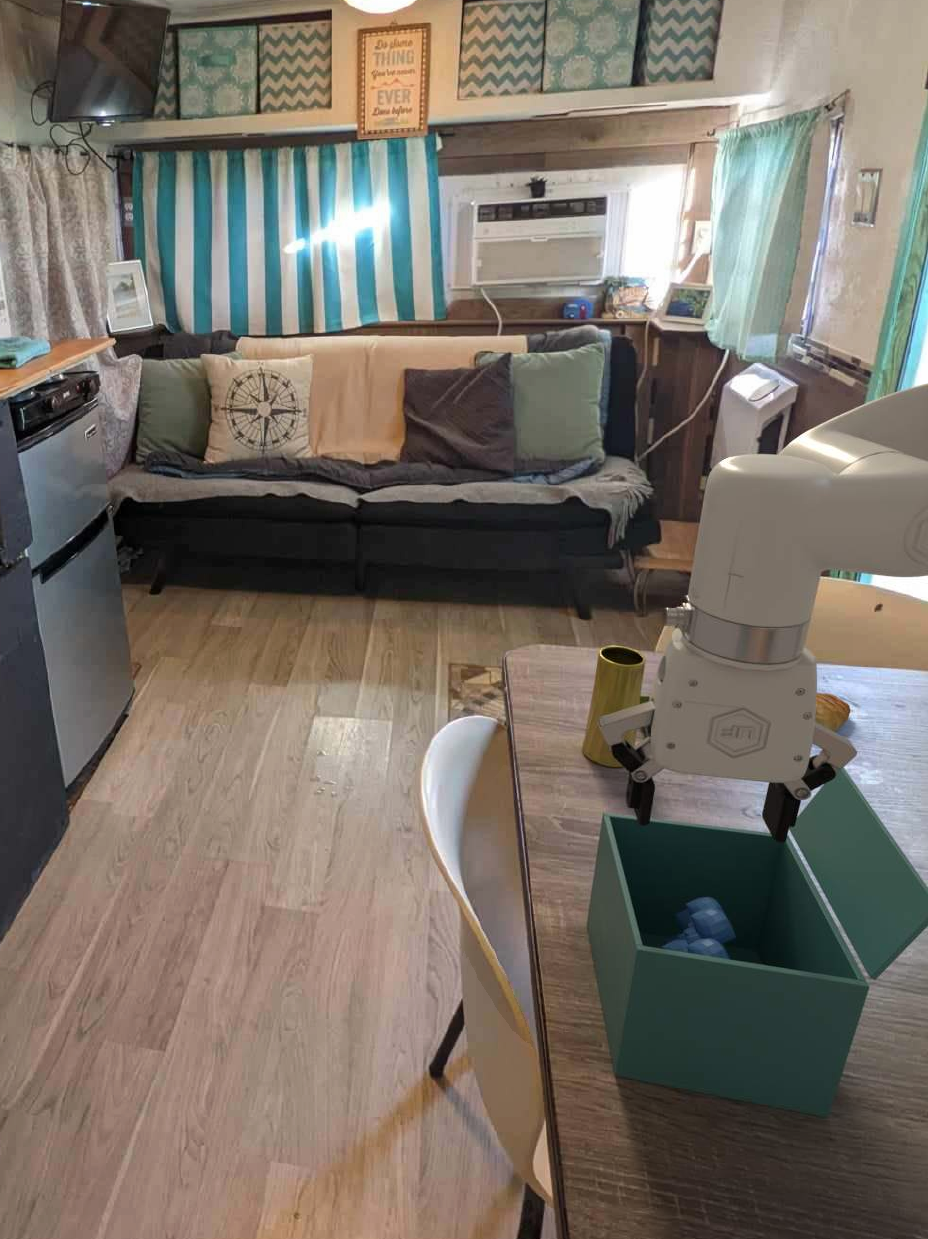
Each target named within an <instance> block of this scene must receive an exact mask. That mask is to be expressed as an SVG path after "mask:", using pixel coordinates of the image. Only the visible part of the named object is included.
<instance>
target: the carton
mask: <svg viewBox="0 0 928 1239" xmlns="http://www.w3.org/2000/svg"><path fill="white" fill-rule="evenodd" d="M598 837H599V838H598V843H597V844H598V845H597V852H596V857H595V865H594V870H593V871H594V872H593V878H592V886H591V891H590V898H589V906H588V912H587V919H586V929H587V934H588V940H589V946H590V950H591V956H592V962H593V967H594V972H595V978H596V983H597V988H598V994H599V998H600V1005H601V1009H602V1014H603V1015H602V1016H603V1021H604V1026H605V1032H606V1036H607V1042H608V1047H609V1053H610V1058H611V1063H612V1069H613V1073H614V1074H613V1075H614V1076H615V1077H618V1078H623V1079H629V1080H634V1081H638V1082H644V1083H647V1084H654V1085H659V1086H664V1087H669V1088H674V1089H680V1090H684V1091H690V1092H695V1093H698V1094H699V1093H700V1094H703V1095H710V1096H715V1097H720V1098H724V1099H730V1100H735V1101H741V1102H744V1103H745V1102H746V1103H750V1104H756V1105H761V1106H765V1107H770V1108H775V1109H781V1110H786V1111H791V1112H797V1113H802V1114H805V1115H806V1114H807V1115H810V1116H815V1117H822V1118H826V1119H828V1118H829V1117H830V1113H831V1111H832V1107H833V1104H834V1101H835V1098H836V1095H837V1092H838V1089H839V1086H840V1082H841V1079H842V1076H843V1073H844V1069H845V1067H846V1063H847V1061H848V1057H849V1054H850V1050H851V1047H852V1045H853V1041H854V1037H855V1035H856V1031H857V1029H858V1026H859V1022H860V1018H861V1016H862V1013H863V1009H864V1007H865V1004H866V1003H865V1002H866V1000H867V996H868V993H869V990H870V985H869V983H868V981H867V979H866V977H865V975H864V973H863V972H862V969H861V968H860V966H859V965H858V962H857V961H856V959H855V957H854V955H853V953H852V951H851V949H850V948H849V946H848V944H847V942H846V940H845V938H844V936H843V935H842V932H841V930H840V929H839V927H838V925H837V924H836V921H835V919H834V918H833V916H832V914H831V912H830V909H829V908H828V907H827V904H826V902H825V901H824V899H823V898H822V895H821V893H820V891H819V889H818V888H817V886H816V884H815V881H813V878H812V877H811V875H810V873H809V871H808V869H807V867H806V866H805V864H804V862H803V860H802V858H801V856H800V854H799V852H798V851H797V849H796V847H795V845H794V843H793V841H792V839H791V838H790V836H789V835H787V839H786V842H785V843H784V842H777V841H776V840H775V839H773V837H772V835H771V833H770V832H768V831H767V832H766V831H760V830H758V831H757V830H751V829H743V828H742V829H741V828H735V827H727V826H726V827H725V826H718V825H710V824H702V823H693V822H684V821H679V820H678V821H677V820H668V819H660V818H653V817H650V822H649V824H647V825H646V826H644V825H639V824H638V821H637V818H636V815H628V814H621V813H612V812H602V818H601V823H600V830H599V836H598ZM702 897H711V898H713V899H715V900H716V901H717V902H718V903H719V904H720V906H721V907H722V909H723V910H724V912H725V915H726V917H727V918H728V920H729V921H730V923H731V926H732V928H733V930H734V933H735V936H736V938H734V939H732V940H730V941H728V942H726V943H723V945H724V946H725V949H726V950H727V953H728V955H729V958H730V960H728V959H722V958H716V957H710V956H703V955H697V954H691V953H684V952H678V951H672V950H666V949H663V948H662V946H664V945H665V944H664V942H663V940H664V939H666V938H668V937H670V936H673V935H675V934H682V933H683V932H682V930H681V928H680V926H679V924H678V921H677V918H676V916H675V914H676V913H678V912H680V911H682V910H685V909H687V906H686V904H687V903H689V902H691V901H693V900H695V899H697V898H702Z"/></svg>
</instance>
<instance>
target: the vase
mask: <svg viewBox="0 0 928 1239" xmlns="http://www.w3.org/2000/svg"><path fill="white" fill-rule="evenodd" d="M646 662H647V659H646V657H645V655H644V654H643V653H642V652H640V651H639V650H636V649H634V648H631V647H628V646H623V645H607V646H603V647H602V648H600V649H599V651H598V655H597V661H596V669H595V676H594V677H595V678H594V684H593V688H592V695H591V700H590V704H589V705H590V706H589V712H588V717H587V721H586V728H585V734H584V738H583V742H582V745H581V749H582V753H583V754H584V755H585V757H586V758H587V759H589V760H590V761H592V762H594V763H596V764H598V765H601V766H603V767H608V768H624V767H623V766H622V765H621V764H620V763H619V762H618V761H617V760H616V759H615V758H614V757H613V754H612V752H611V750H610V748H609V747H608V745H607V743H606V741H605V739H604V737H603V735H602V733H601V731H600V727H599V724H598V719H599V718H600V717H602V716H605V715H608V714H612V713H615V712H618V711H621V710H624V709H627V708H630V707H633V706H637V705H640V696H642V688H643V681H644V674H645V668H646ZM637 730H638V729H636V730H632V731H629V732H626V733H624V734H623V738H624V739H625V740H626V741H627V742H628V743H629V744H630V745H631V746H632V747H634V746H636V739H637Z"/></svg>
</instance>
